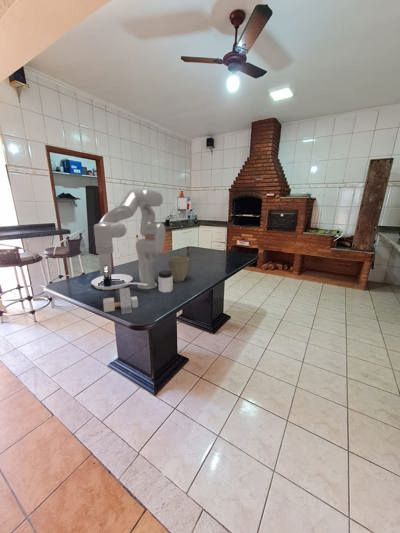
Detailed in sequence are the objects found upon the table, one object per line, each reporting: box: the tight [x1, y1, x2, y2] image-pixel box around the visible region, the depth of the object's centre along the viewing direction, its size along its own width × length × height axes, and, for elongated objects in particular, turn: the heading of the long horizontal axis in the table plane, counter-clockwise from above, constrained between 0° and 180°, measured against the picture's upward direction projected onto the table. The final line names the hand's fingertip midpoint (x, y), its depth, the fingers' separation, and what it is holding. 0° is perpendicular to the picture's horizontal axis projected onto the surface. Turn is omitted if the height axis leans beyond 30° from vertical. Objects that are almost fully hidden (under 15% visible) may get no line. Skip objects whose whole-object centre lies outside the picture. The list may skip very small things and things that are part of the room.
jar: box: [157, 270, 174, 293], centre depth 139 cm, size 9×8×12 cm
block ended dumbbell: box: [102, 295, 139, 313], centre depth 115 cm, size 4×16×6 cm, turn 112°
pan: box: [90, 273, 148, 291], centre depth 145 cm, size 26×44×6 cm, turn 59°
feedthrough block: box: [118, 287, 133, 315], centre depth 116 cm, size 16×5×9 cm, turn 21°
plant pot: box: [167, 256, 190, 283], centre depth 157 cm, size 15×15×16 cm
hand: (107, 283), depth 110 cm, fingers open, 9 cm apart
